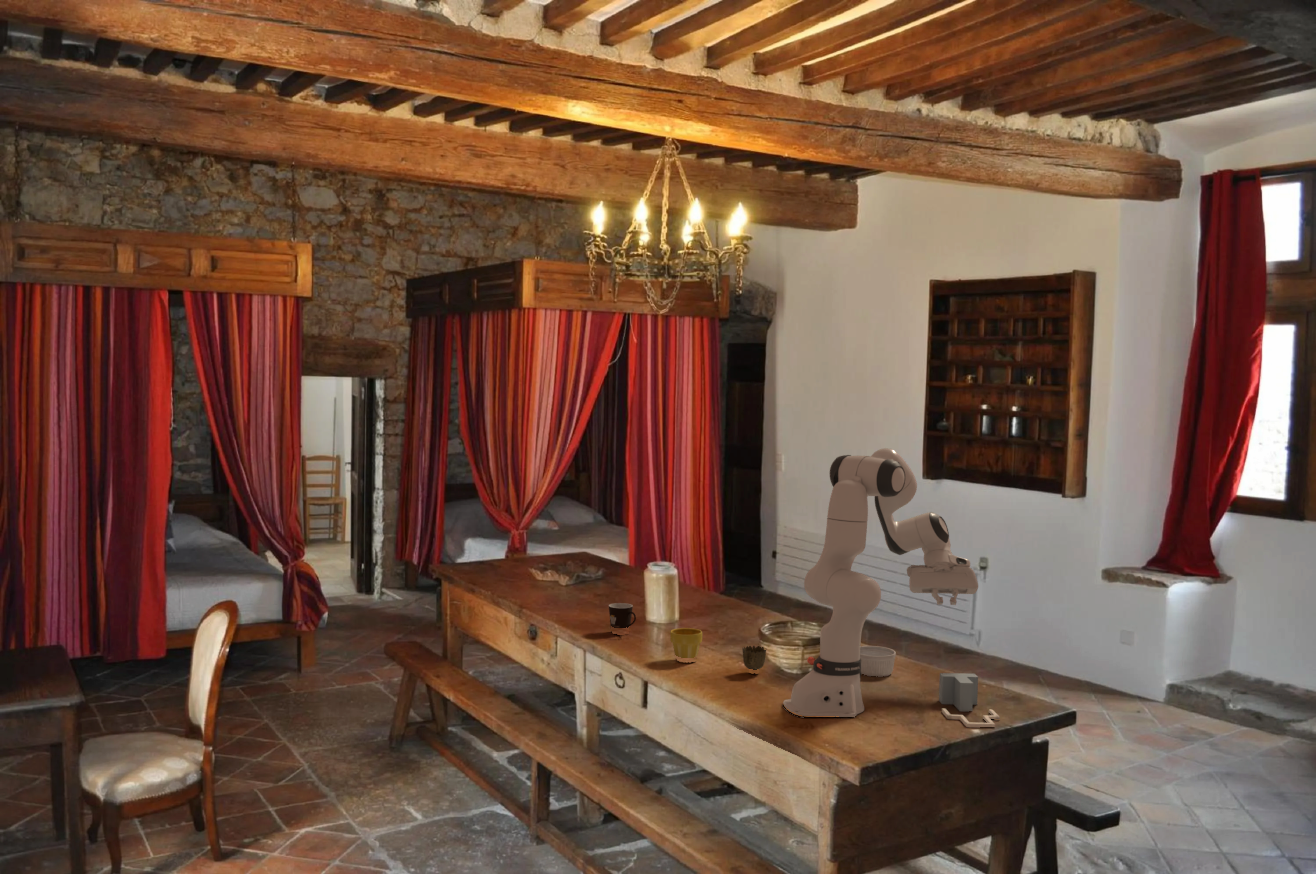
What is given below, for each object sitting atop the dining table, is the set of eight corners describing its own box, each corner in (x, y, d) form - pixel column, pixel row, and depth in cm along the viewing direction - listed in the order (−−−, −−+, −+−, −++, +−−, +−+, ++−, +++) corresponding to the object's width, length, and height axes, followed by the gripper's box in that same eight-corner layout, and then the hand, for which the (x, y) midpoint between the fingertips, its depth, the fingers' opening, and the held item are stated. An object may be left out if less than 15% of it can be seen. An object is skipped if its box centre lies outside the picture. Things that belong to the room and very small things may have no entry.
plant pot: (665, 658, 351) (666, 628, 350) (695, 656, 354) (696, 626, 353) (675, 666, 341) (676, 635, 340) (706, 664, 344) (707, 633, 344)
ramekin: (863, 679, 330) (864, 657, 330) (845, 668, 343) (845, 646, 342) (902, 677, 334) (903, 654, 333) (882, 666, 346) (883, 644, 346)
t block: (948, 711, 299) (948, 682, 299) (938, 700, 309) (939, 672, 309) (983, 711, 299) (984, 683, 299) (973, 701, 309) (974, 673, 309)
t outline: (954, 726, 285) (954, 723, 285) (941, 711, 298) (941, 708, 298) (1007, 728, 285) (1007, 724, 285) (992, 712, 298) (992, 709, 298)
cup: (737, 671, 336) (738, 646, 336) (759, 669, 339) (759, 644, 338) (748, 677, 329) (748, 651, 329) (769, 675, 332) (770, 650, 331)
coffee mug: (605, 631, 387) (605, 603, 386) (628, 630, 389) (629, 602, 389) (613, 638, 375) (614, 610, 375) (637, 637, 378) (638, 609, 378)
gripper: (907, 559, 328) (914, 597, 319) (974, 560, 328) (983, 598, 319) (904, 570, 333) (910, 608, 323) (970, 572, 333) (978, 610, 323)
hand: (947, 603), depth 321 cm, fingers open, 3 cm apart
